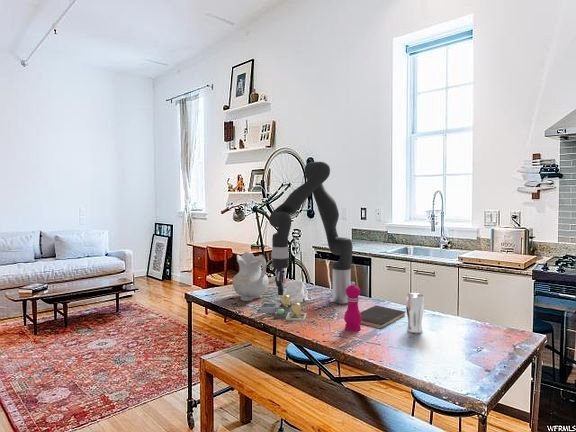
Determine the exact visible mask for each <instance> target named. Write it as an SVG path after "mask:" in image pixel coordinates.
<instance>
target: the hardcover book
mask: <svg viewBox="0 0 576 432" xmlns="http://www.w3.org/2000/svg"><path fill="white" fill-rule="evenodd" d="M360 314H361V317H362V321H361V322H360V323H359V324H360V325H361V324H362V325H366V326H370V327H373V326H374V327H373V328H379V329H382V328H384V327H386V326H388V325H389V324H392V323H393V322H395V321H397V320H398V319H400V317H401V318H402V317H404V316H405V314H406V311H403V310H399V309H394V308H392V307H391V308H390V307H385V306H381V305H373V306H371V307H369V308H366V309H364V310H362V311H360Z"/></svg>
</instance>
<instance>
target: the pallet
mask: <svg viewBox="0 0 576 432" xmlns="http://www.w3.org/2000/svg"><path fill="white" fill-rule="evenodd" d="M278 309H284V312H287V314H288V313H289V312H292V303H290V308H283V307H282V304H281V302H280V303H278V302H275V303H274V302H263V303H261V305H260V307H259V311H258V313H268V314H275V313H276V312H278Z"/></svg>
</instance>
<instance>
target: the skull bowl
mask: <svg viewBox="0 0 576 432" xmlns="http://www.w3.org/2000/svg"><path fill="white" fill-rule="evenodd" d="M283 294H288V295H290V304H292V303H293V302H300V303H303V302H305V301H308V300H309V298H308V295H309V292H308V289H307V286H306V285H305V283H304V282H303V281H302V280H301V279H300V280H299V279H297V280H293V281H292V282H291V283H290V284H289V285H288V286H287V287H285V289H284V290H283Z"/></svg>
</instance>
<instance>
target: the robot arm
mask: <svg viewBox="0 0 576 432" xmlns="http://www.w3.org/2000/svg"><path fill="white" fill-rule="evenodd" d="M330 174H331V168H330V165H329V164H328V163H327V162H325V161H310V162H307V163H306V164H305V167H304V175H305V176H304V177H305V179H306V181H305V182H304V183H303V184H300V186H298V187H297V188H295V189H294V190H293V191H292V192H291V193H290V194H289V195H288V196H287V198H286V199H284V201H283V203H281V204H280V205H278V206H277V207H276V208H275V209H274V210H273V211H272V212H271V214H270V216H269V218H268V222H269V224H270V226H271V227H273V228H277V231H276V233H273V235H272V237H271V238H272V240H271V242H272V245H271V246H272V247H271V266H272V268H274V269H276V271H275V272H274V273H275V274H274V275H275V277H274V281H275V284H276V287H277V295H278V296H281V295H283V294H284V286H285V281H286V274H287V273H286V270H285V269H287V268H289V266H290V257H289V256H290V254H289V253H290V250H289V235H290V232H291V226H292V216H291V215H293V214H295V213H296V212H297V211H298V210H299V209H300V208H301V207H302V205H303V203H304V202H305V201H306V200H307V199H308V198H309V197H310V196H311V195H313V197H314V200H315V204H316V206H317V210H318V213H319V215H320V219H321V222H322V224H323V228H324V231H325V232H324V233H325V236H326V241H327V245H328V249H329V251H330V253H331V254H333V255H336V256H339V259H338V260H337V261H335V262H333V263H332V302H333V303H335V304H341V305H342V304H348V301H347V294H346V288H347V287H348V286H350V285H351V282H352V281H351V280H352V279H351V266H352V262H353V242H352V240H351V239H350V238H348V237H340V236H339V235H338V231H337V224H338V220H339V216H340V212H339V208H338V206H337V205H338V204H337V202H336V200H335V199H334V197H332V195H331V194H330V193H329V192H328V190H327V188H325V186H324V182H326V180H328V178H329V177H330Z"/></svg>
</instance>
